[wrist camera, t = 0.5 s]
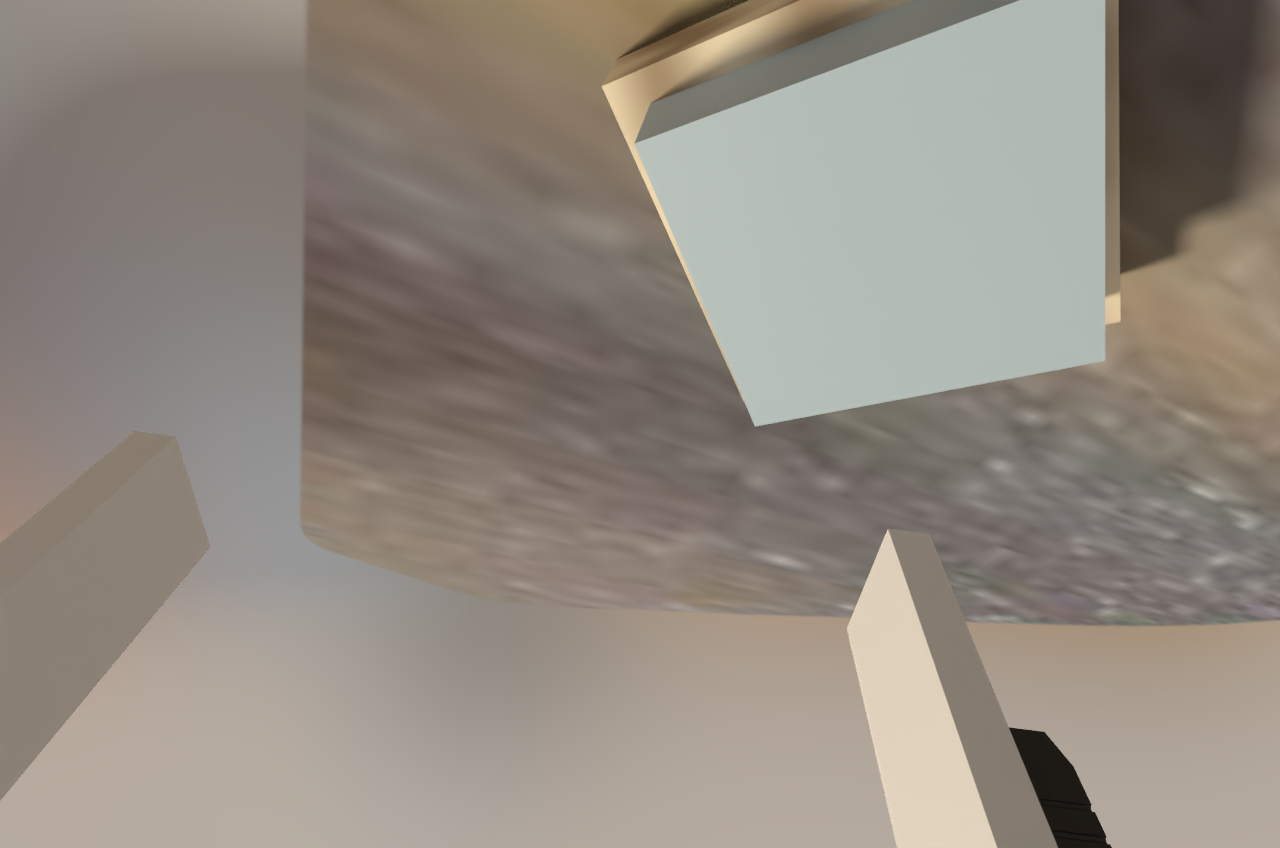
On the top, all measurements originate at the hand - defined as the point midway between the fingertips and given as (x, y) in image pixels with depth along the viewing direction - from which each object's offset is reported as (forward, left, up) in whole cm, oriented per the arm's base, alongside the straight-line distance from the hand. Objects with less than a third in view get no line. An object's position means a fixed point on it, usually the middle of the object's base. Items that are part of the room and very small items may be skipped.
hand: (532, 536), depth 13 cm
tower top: (-6, +7, -22) cm, 24 cm away
